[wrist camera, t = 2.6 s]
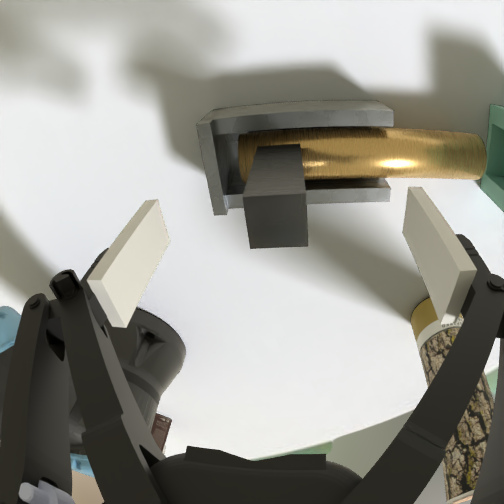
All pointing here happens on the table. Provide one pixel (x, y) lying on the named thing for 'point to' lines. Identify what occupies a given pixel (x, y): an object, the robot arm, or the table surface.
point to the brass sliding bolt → (338, 169)
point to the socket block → (495, 158)
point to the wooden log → (475, 417)
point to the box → (160, 430)
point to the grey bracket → (286, 118)
